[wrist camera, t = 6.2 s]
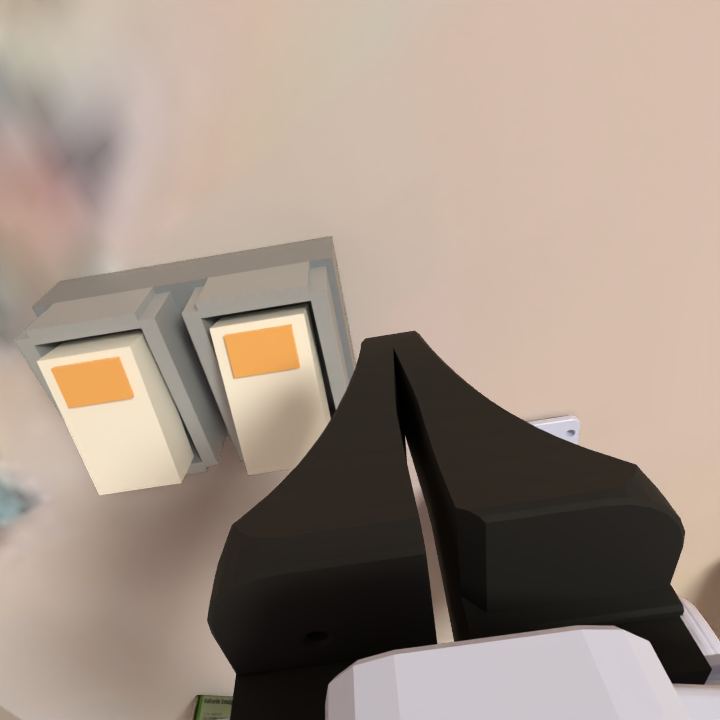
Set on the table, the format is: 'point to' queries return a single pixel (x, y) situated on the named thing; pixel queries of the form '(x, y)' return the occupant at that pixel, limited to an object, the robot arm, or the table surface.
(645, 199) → the table surface
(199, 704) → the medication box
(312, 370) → the breaker
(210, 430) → the breaker panel
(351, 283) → the table surface
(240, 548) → the robot arm
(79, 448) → the breaker
